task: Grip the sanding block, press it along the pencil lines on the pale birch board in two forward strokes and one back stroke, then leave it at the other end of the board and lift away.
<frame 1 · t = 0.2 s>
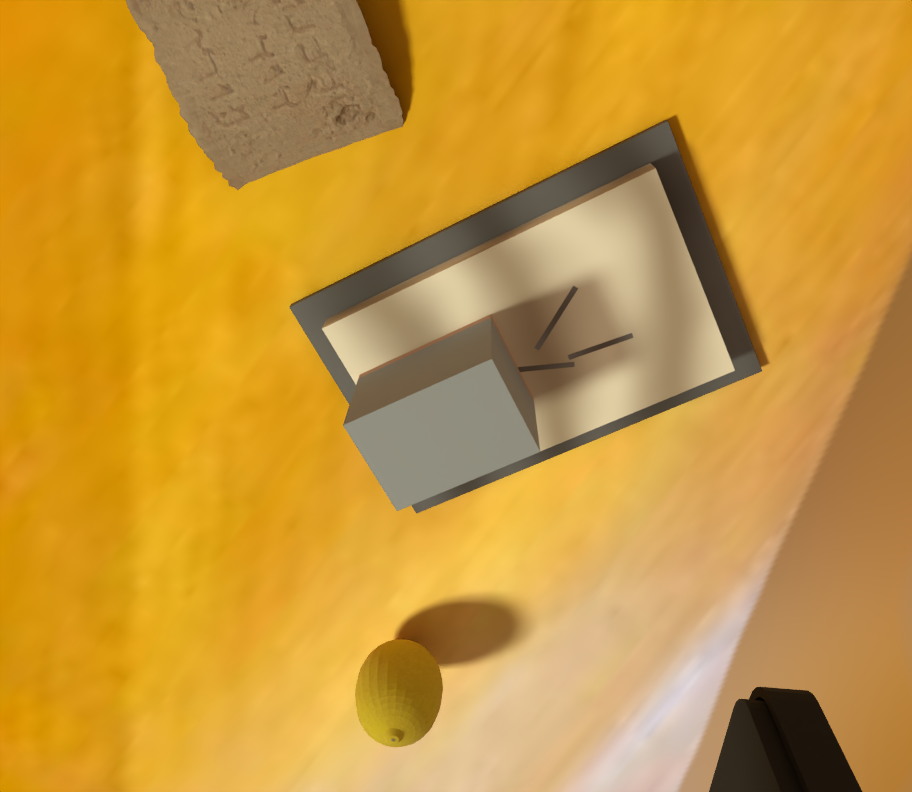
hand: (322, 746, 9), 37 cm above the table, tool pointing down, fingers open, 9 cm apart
board: (527, 336, 46), on the table
sanding block: (446, 386, 46), point 2 cm above the table, touching board
clay tablet: (265, 31, 41), on the table
lemon: (404, 644, 57), on the table
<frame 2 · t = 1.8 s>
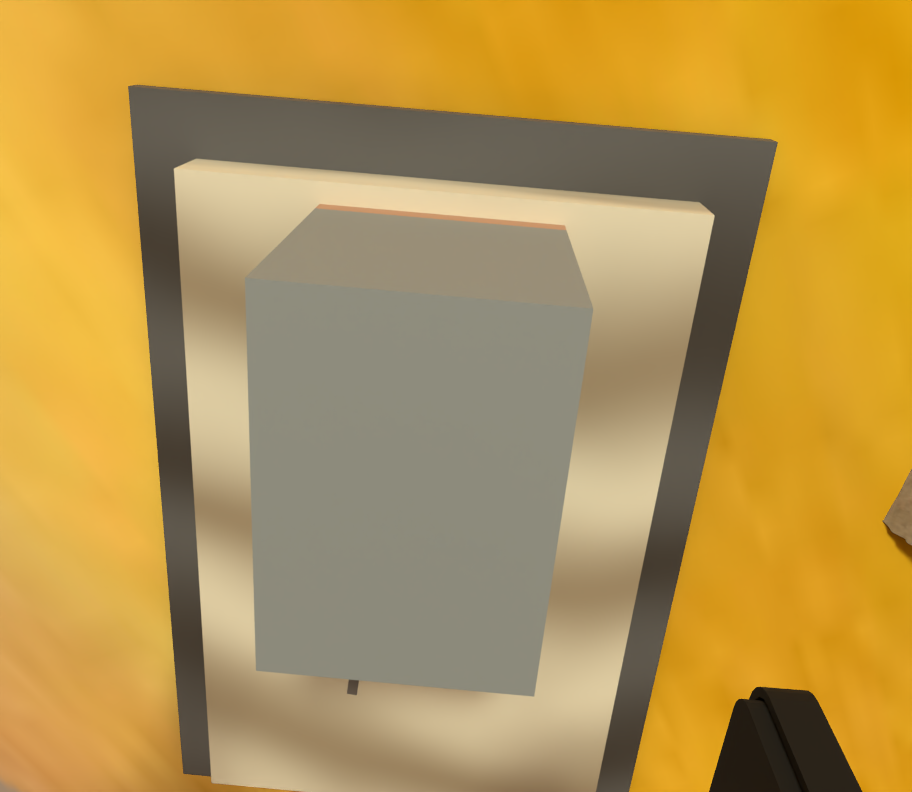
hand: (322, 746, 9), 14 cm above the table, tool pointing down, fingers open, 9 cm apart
board: (424, 509, 24), on the table
sanding block: (430, 378, 20), point 2 cm above the table, touching board
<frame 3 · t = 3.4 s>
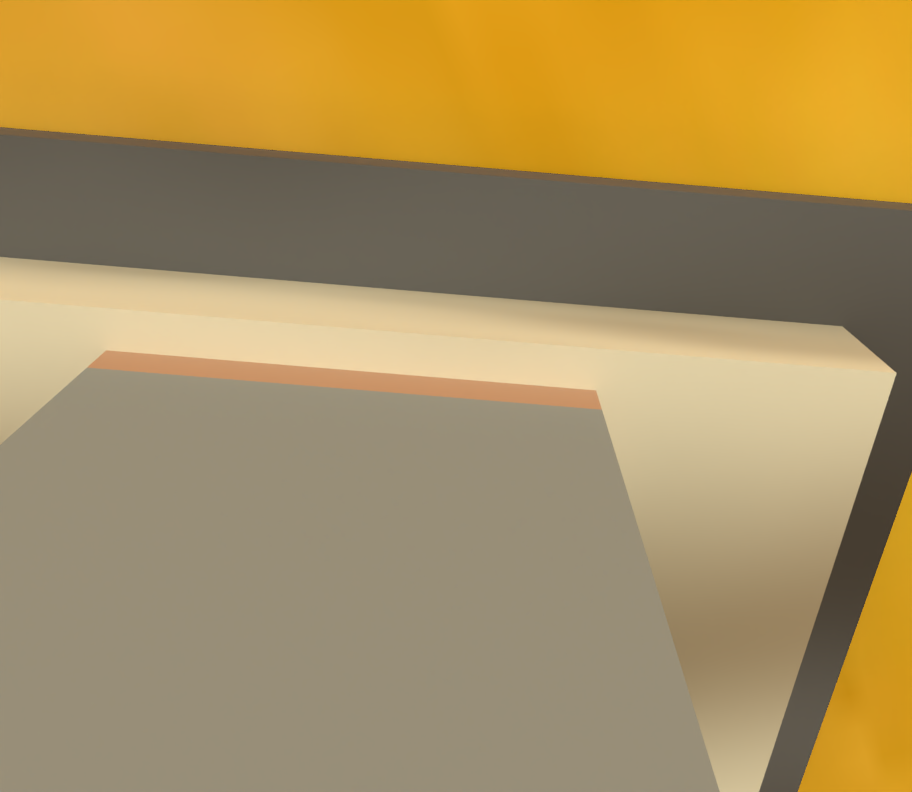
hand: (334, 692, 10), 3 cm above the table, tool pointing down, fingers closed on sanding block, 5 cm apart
board: (355, 785, 15), on the table
sanding block: (344, 647, 11), point 2 cm above the table, touching board, gripper
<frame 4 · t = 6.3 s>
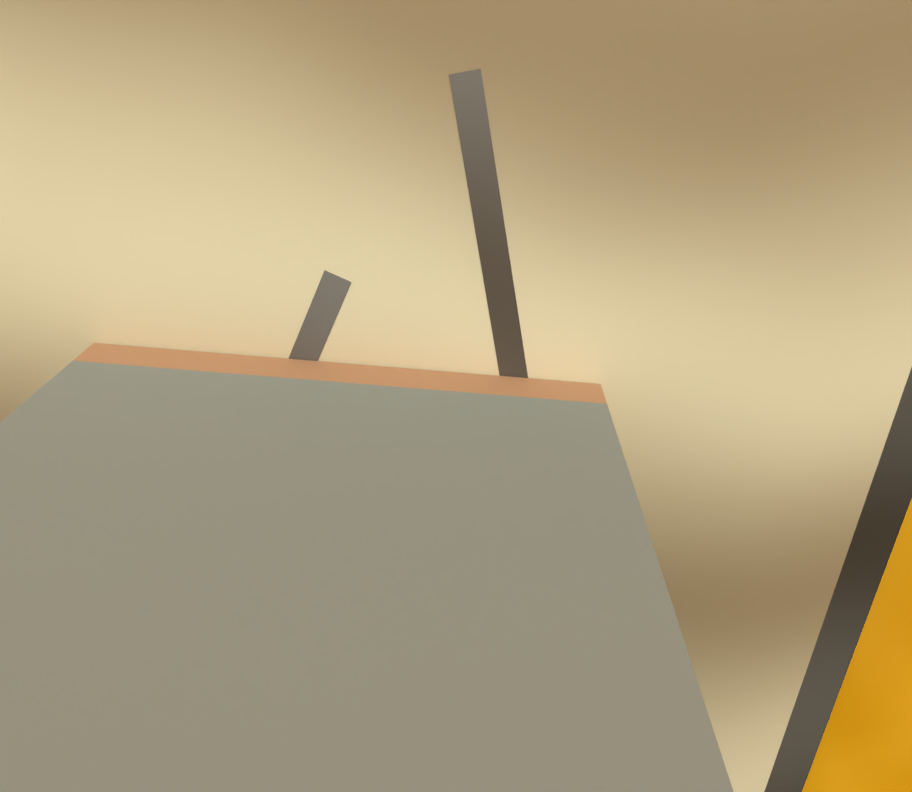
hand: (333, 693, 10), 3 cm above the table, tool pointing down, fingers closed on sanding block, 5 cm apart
board: (365, 432, 12), on the table
sanding block: (341, 649, 11), point 2 cm above the table, touching gripper
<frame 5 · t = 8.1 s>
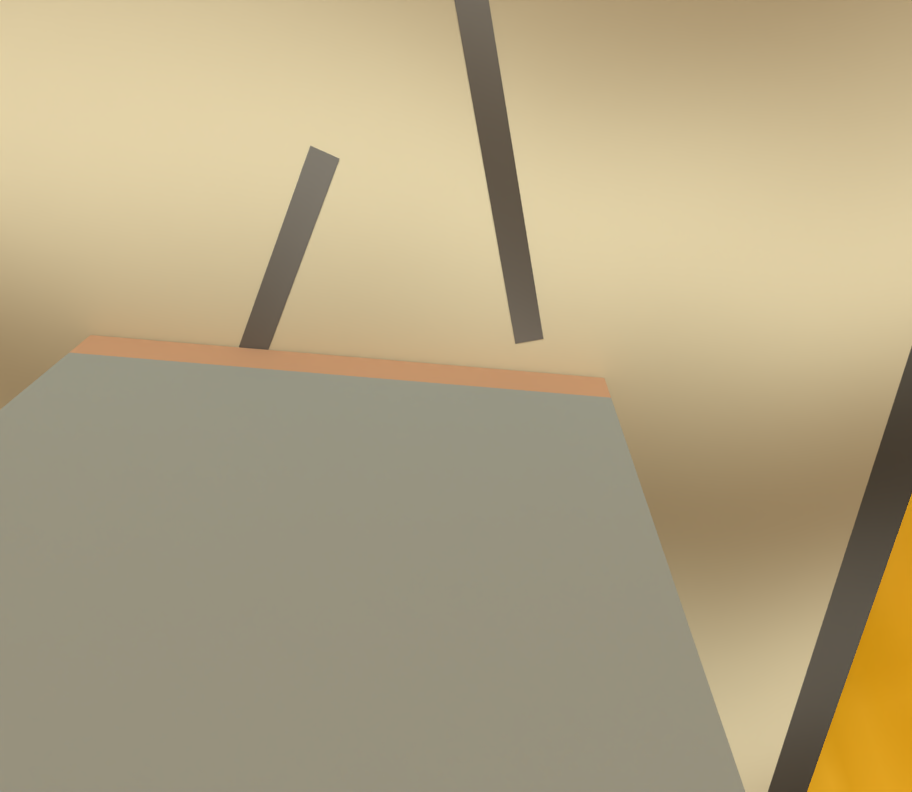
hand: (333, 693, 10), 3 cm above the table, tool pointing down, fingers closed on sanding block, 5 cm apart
board: (361, 350, 11), on the table
sanding block: (340, 646, 11), point 2 cm above the table, touching gripper
when the fingers open (3 cm above the table, at t = 9.5 s): sanding block stays where it is, resting on board.
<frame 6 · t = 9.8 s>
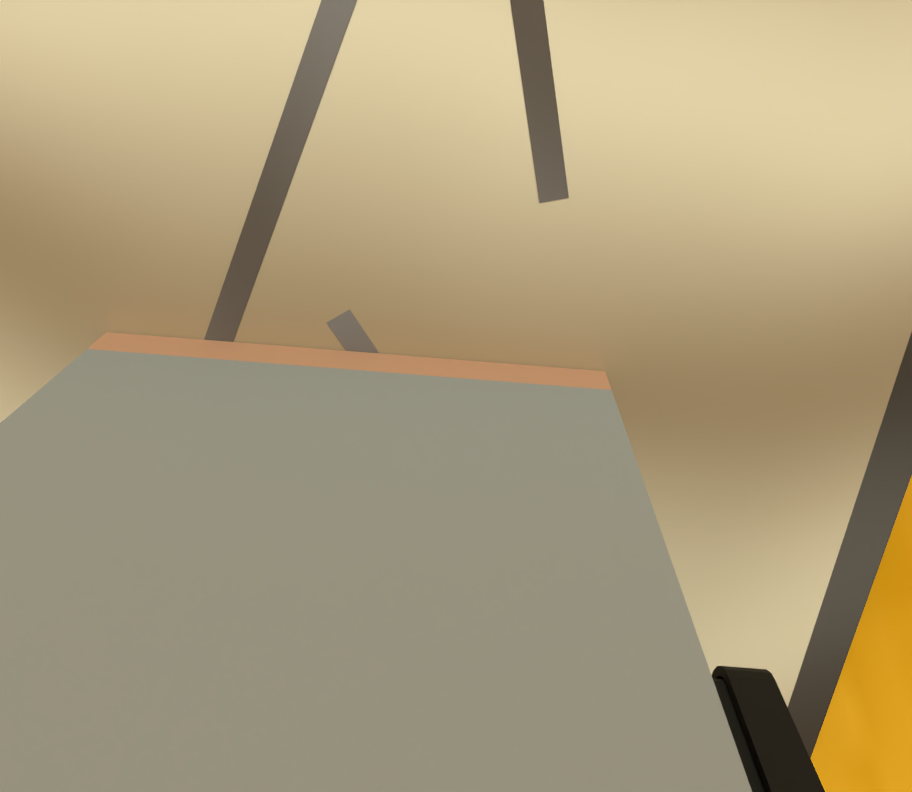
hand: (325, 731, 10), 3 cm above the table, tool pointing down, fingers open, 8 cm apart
board: (374, 238, 11), on the table
sanding block: (349, 635, 11), point 2 cm above the table, touching board
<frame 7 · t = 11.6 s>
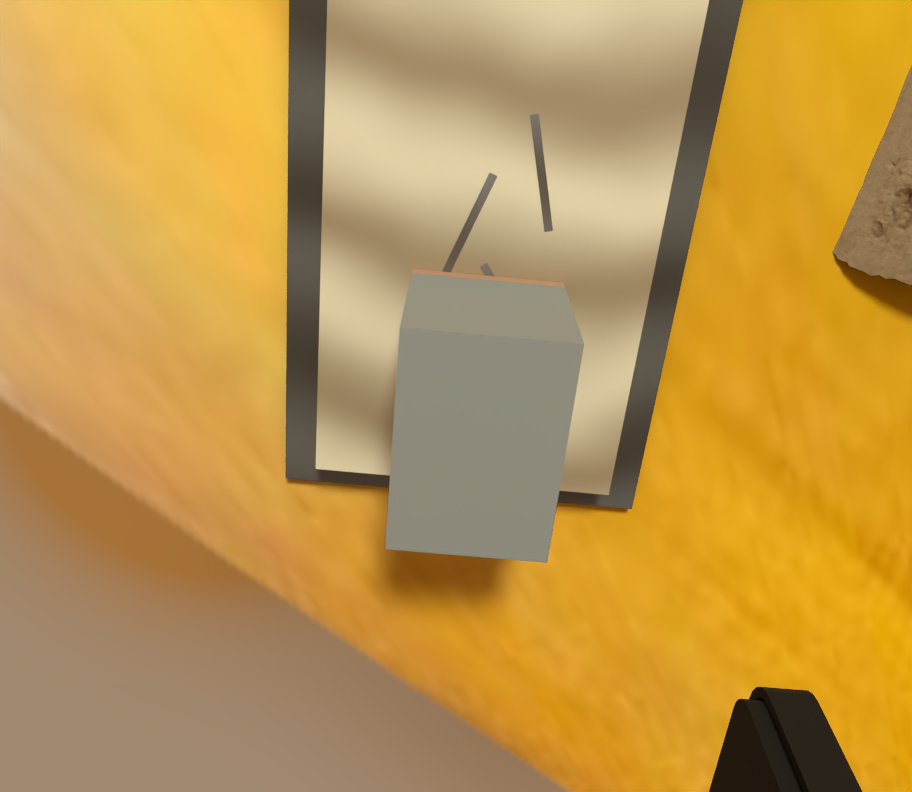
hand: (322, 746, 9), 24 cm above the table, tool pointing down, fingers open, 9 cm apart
board: (487, 240, 31), on the table
sanding block: (476, 376, 32), point 2 cm above the table, touching board
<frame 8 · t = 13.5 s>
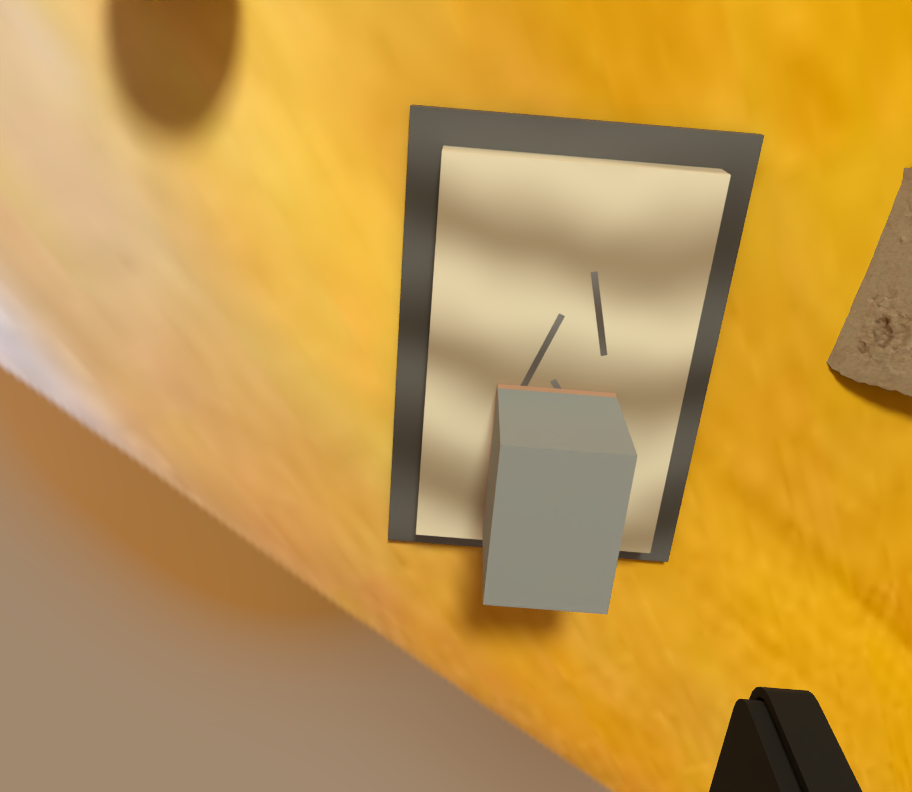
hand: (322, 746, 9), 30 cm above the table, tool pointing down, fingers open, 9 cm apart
board: (553, 357, 40), on the table
sanding block: (546, 463, 40), point 2 cm above the table, touching board
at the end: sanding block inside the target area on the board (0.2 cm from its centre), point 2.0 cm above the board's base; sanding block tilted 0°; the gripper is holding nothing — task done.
